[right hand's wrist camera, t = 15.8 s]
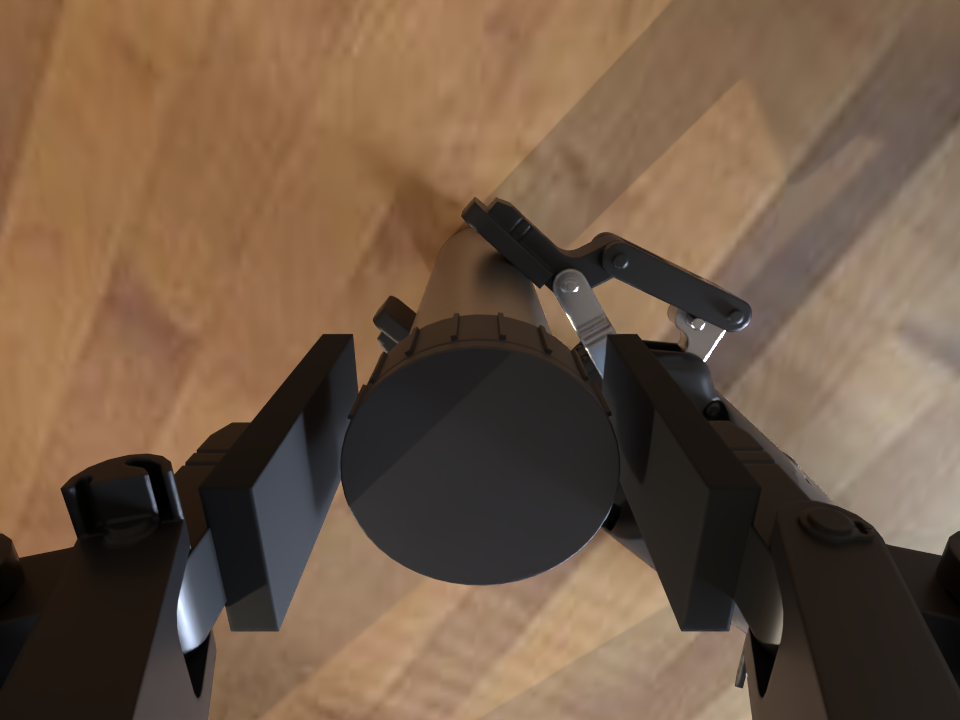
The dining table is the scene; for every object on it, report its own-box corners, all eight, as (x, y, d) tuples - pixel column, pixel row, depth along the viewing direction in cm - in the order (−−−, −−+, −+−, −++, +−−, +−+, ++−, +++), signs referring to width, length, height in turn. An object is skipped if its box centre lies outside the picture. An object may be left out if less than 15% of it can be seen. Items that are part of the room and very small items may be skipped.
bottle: (509, 324, 27) (548, 566, 12) (425, 301, 27) (351, 521, 11) (537, 241, 26) (623, 392, 10) (448, 214, 25) (398, 331, 10)
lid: (548, 266, 11) (563, 291, 9) (636, 478, 12) (662, 535, 11) (312, 370, 11) (280, 414, 10) (426, 555, 13) (417, 620, 11)
